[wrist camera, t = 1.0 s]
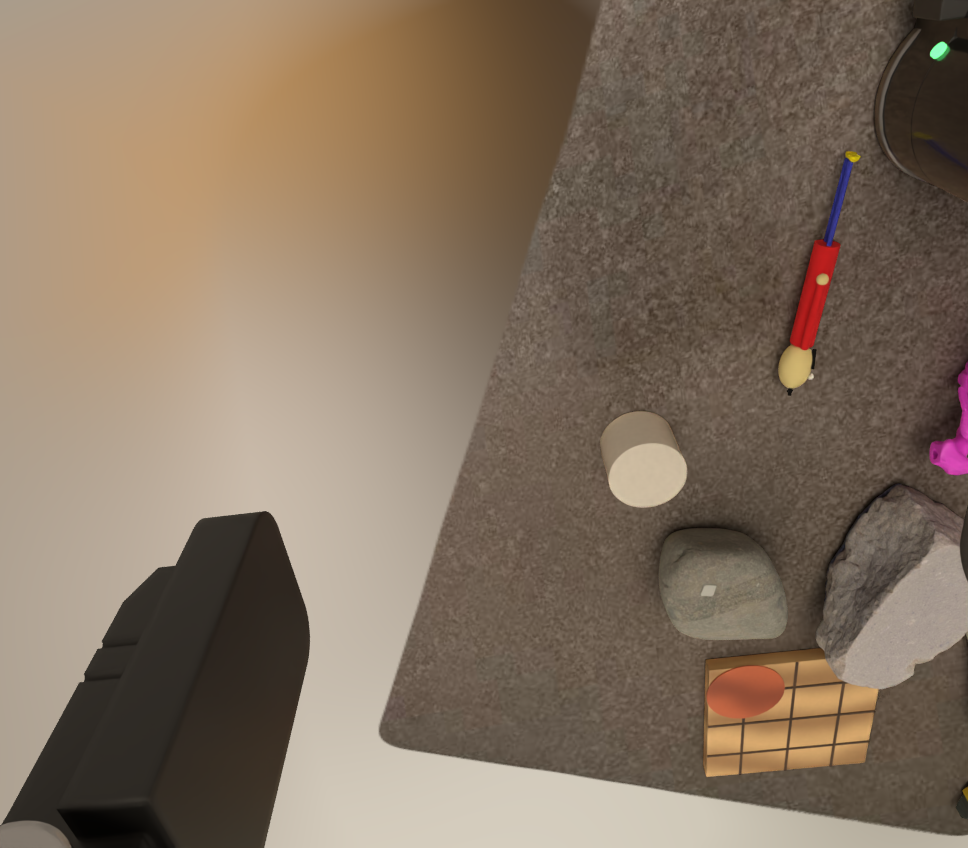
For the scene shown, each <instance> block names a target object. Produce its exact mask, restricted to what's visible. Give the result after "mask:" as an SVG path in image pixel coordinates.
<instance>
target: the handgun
mask: <svg viewBox="0 0 968 848" xmlns="http://www.w3.org/2000/svg"><path fill="white" fill-rule="evenodd" d="M962 791H963V793H964V794H963V796H962V797H961V799H960V800H959V801H958V803H957V806H956V808H957V810H958V812H959V814H960V816H961V817H962V818H965V819H968V787H966V788H965V789H963V790H962Z"/></svg>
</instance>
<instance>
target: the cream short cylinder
mask: <svg viewBox="0 0 968 848" xmlns="http://www.w3.org/2000/svg"><path fill="white" fill-rule="evenodd" d="M600 451H601V455H602V459H603V463H604V467H605V471H606V474H607V478H608V482H609V486H610V489H611V491H612V492H613V494H614V495H615V496H616V497H617V498H618V499H619V500H620V501H622V502H623V503H625V504H628V505H630V506H634V507H653V506H657V505H660V504H663V503H665V502H667V501H668V500H670V499H672V498H673V497H674V496H675V495H676V494H677V493H678V492H679V491H680V490H681V489H682V487H683V485H684V483H685V481H686V477H687V465H686V462H685V460H684V457H683V455H682V453H681V450H680V448H679V445H678V443H677V441H676V438H675V436H674V433H673V431H672V429H671V427H670V425H669V424H668V422H667V421H666V420H665V419H663V418H662V417H661V416H659V415H657V414H654V413H651V412H646V411H635V412H630V413H626V414H624V415H621V416H620V417H618V418H616V419H615V420H613V421H612V422H611V423H610V424H609V425H608V426H607V427H606V429H605V430H604V432H603V434H602V437H601V440H600Z"/></svg>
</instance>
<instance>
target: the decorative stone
mask: <svg viewBox="0 0 968 848" xmlns="http://www.w3.org/2000/svg"><path fill="white" fill-rule="evenodd" d="M963 524H964V520H963V519H962V518H961V517H959V516H958V515H956V514H955V513H954V512H952V511H951V510H950V509H948V508H947V507H946V506H944V505H943V504H942V503H939V502H935V501H932V500H931V499H930V498H929V497H926V496H925V495H924V494H923V493H921V492H920V491H918V490H915V489H913V488H911V487H909V486H903V485H901V484H900V483H898V484H895V485H893V486H892V487H890V488H889V489H888V490H886V491H885V492H884V493H883V494H882V495H880V496H878V497H877V498H875V499H874V501H873V502H872V503H871V504H870V505H869V506H868V507H867V508H866V509H865V510H864V511H863V512H862V513H861V514H860V515H859V516H858V517H857V520H856V521H855V523H854V524H853V526H852V527H851V529H850V530H849V532H848V533H847V535H846V538H845V541H844V543H843V545H842V546H841V548H840V549H839V551H838V552H837V553H836V555H835V556H834V558H833V559H832V560H831V562H830V565H829V567H828V569H827V575H826V576H827V581H826V583H825V585H826V586H825V587H826V592H825V599H824V601H825V603H824V608H823V620H822V621H821V623H820V625H819V626H818V628H817V630H816V642H817V643H818V645H819V646H820V647H821V648H822V649H823V650H824V653H825V659H826V661H827V663H828V665H829V666H830V668H831V669H832V671H833V672H834V673H835V675H836V676H837V678H838V679H840V680H842V681H844V682H847V683H849V684H851V685H857V686H861V687H868V688H874V689H885V688H887V687H891V686H895V685H897V684H899V683H901V682H902V681H904V680H906V679H908V678H909V677H911V676H912V675H913V674H914V667H915V664H919V663H924V662H928V661H930V660H933V658H934V656H936V655H937V654H938V653H940V652H942V651H946V650H947V649H949V648H950V647H951V646H952V645H954V644H955V643H956V642H958V641H959V640H960V639H961V638H962V637H963V636H964V635H965V634H966V632H968V581H967V579H966V576H965V573H964V571H963V567H962V563H961V557H960V538H961V533H962V529H963Z"/></svg>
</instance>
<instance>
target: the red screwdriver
mask: <svg viewBox="0 0 968 848" xmlns="http://www.w3.org/2000/svg"><path fill="white" fill-rule="evenodd" d="M860 157H861V156H859V155H857V153H856V152H851V151H848V152H846V158H845V160H844V164H843V167H842V171H841V175H840V179H839V183H838V187H837V191H836V195H835V198H834V203H833V206H832V210H831V214H830V218H829V222H828V226H827V229H826V233H825V237H824V239H820V240H816V241H815V242H814V246H813V250H812V254H811V258H810V262H809V266H808V270H807V274H806V278H805V282H804V286H803V290H802V294H801V298H800V302H799V306H798V310H797V314H796V318H795V322H794V326H793V330H792V334H791V338H790V343H791V345H790V346H789V347H788V348H787V349H786V350H785V351H784V353H783V354H782V356H781V359H780V362H779V367H778V373H779V378H780V380H781V382H782V383H783V385H785V386H786V387H788V388H789V389H788V391H787V392H788V395H789V396H791V393H792V391H793V390H792V389H793V388H796V387H799V386H800V385H802V384H803V383H804V382H805V381H806V380H807V378H808V379H809V380H812V379H813V378H814V375H813V374H812V373H810V372H811V369H814V365H815V357H816V349H813V350H812V352H811V350H810V347H812V346H813V345H814V341H815V338H816V334H817V330H818V327H819V323H820V319H821V316H822V312H823V308H824V304H825V301H826V297H827V293H828V290H829V286H830V282H831V279H832V275H833V271H834V268H835V264H836V260H837V256H838V253H839V249H840V244H839V243H838V242H835V241H833V237H834V234H835V230H836V226H837V222H838V218H839V215H840V211H841V207H842V203H843V200H844V196H845V192H846V188H847V184H848V181H849V177H850V173H851V169H852V166H853V162H856V161H858V160H859V159H860Z"/></svg>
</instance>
